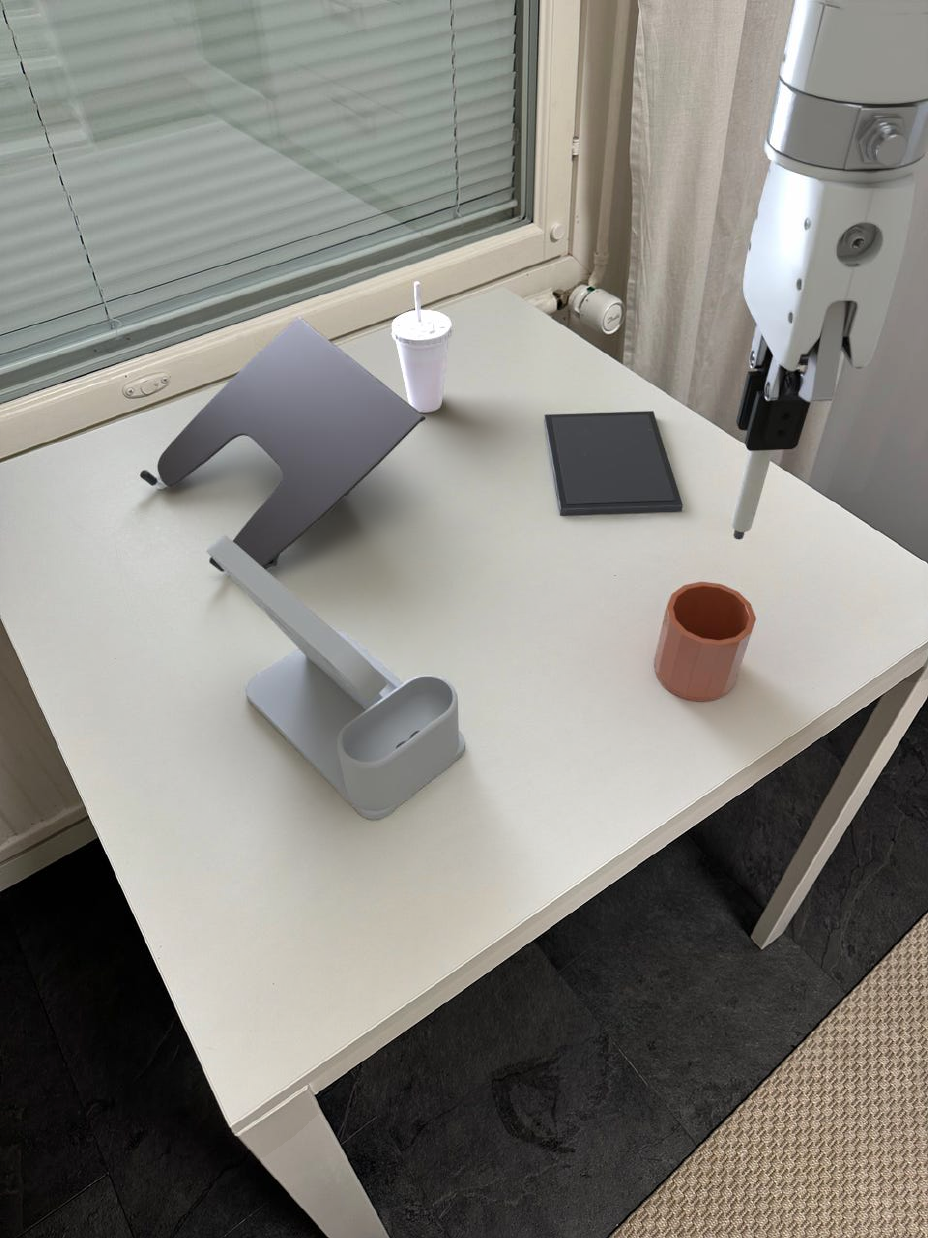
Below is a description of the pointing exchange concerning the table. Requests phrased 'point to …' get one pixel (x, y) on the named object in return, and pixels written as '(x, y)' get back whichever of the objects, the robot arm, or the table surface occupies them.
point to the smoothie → (423, 354)
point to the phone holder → (347, 701)
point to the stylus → (750, 490)
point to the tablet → (610, 464)
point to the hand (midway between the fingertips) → (765, 435)
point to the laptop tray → (295, 433)
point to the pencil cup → (703, 640)
